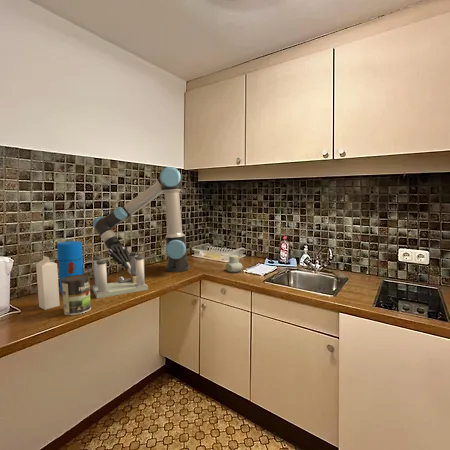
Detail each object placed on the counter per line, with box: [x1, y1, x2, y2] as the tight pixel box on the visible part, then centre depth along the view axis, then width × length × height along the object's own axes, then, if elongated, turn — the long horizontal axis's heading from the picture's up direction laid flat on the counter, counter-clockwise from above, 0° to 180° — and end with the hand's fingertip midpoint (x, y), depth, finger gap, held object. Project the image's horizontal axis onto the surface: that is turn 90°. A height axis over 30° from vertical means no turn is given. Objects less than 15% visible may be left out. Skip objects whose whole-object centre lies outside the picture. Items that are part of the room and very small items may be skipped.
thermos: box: [56, 240, 85, 296], centre depth 142 cm, size 11×11×25 cm
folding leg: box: [117, 251, 139, 283], centre depth 153 cm, size 11×4×15 cm, turn 120°
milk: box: [35, 255, 61, 311], centre depth 123 cm, size 6×6×22 cm
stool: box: [91, 255, 149, 299], centre depth 146 cm, size 24×16×17 cm
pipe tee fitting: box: [225, 254, 243, 273], centre depth 180 cm, size 11×8×10 cm
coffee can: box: [62, 274, 92, 316], centre depth 119 cm, size 10×10×14 cm
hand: (132, 272), depth 157 cm, fingers closed
